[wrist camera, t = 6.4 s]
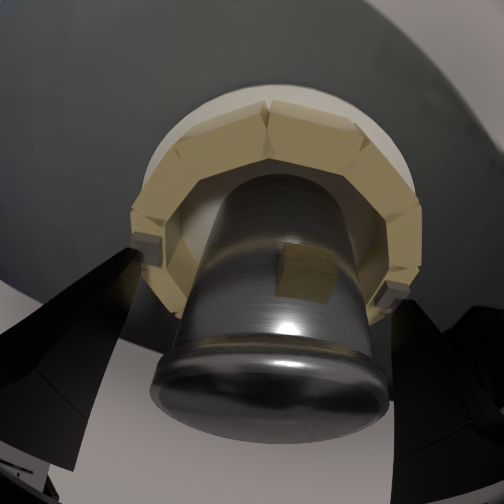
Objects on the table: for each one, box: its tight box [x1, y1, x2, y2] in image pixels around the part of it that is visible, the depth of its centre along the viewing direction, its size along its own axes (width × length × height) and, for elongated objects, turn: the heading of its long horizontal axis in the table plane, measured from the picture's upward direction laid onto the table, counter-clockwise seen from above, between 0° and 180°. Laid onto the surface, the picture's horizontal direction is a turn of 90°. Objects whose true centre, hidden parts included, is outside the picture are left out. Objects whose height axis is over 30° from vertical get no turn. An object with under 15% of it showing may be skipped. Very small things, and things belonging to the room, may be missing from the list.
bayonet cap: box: [150, 174, 389, 444], centre depth 8 cm, size 6×5×7 cm
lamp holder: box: [130, 83, 422, 326], centre depth 11 cm, size 11×11×4 cm
